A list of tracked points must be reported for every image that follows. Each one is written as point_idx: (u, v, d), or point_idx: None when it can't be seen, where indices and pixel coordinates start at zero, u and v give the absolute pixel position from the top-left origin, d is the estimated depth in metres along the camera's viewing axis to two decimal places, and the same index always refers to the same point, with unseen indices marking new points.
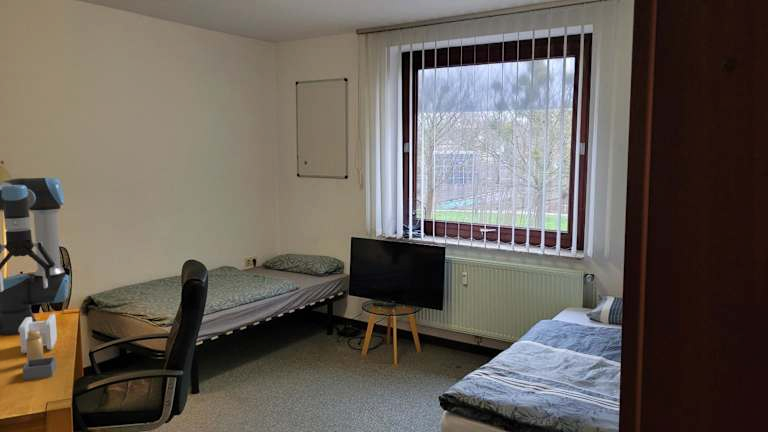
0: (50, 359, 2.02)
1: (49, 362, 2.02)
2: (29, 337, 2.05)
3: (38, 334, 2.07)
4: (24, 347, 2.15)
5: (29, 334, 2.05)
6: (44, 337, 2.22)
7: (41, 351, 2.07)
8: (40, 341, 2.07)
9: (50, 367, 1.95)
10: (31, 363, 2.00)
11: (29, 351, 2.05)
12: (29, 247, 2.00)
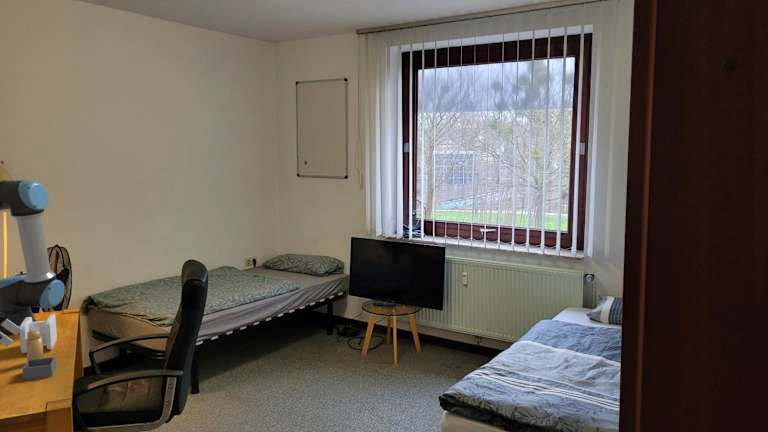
0: (50, 359, 2.02)
1: (49, 362, 2.02)
2: (29, 337, 2.05)
3: (38, 334, 2.07)
4: (24, 347, 2.15)
5: (29, 334, 2.05)
6: (44, 337, 2.22)
7: (41, 351, 2.07)
8: (40, 341, 2.07)
9: (50, 367, 1.95)
10: (31, 363, 2.00)
11: (29, 351, 2.05)
12: None
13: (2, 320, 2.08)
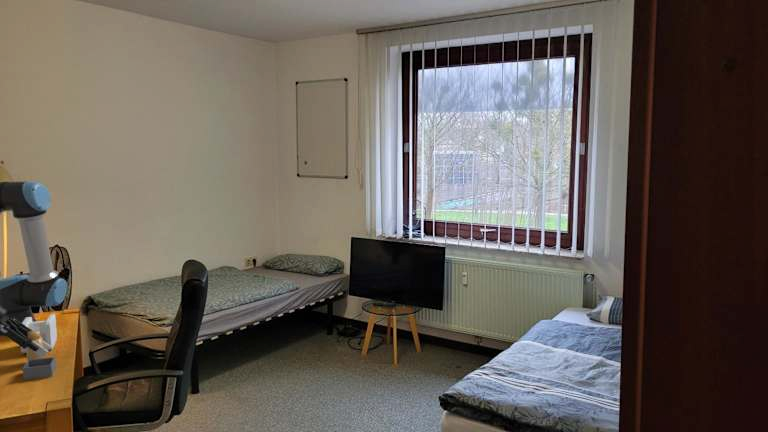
0: (50, 359, 2.02)
1: (49, 362, 2.02)
2: (29, 337, 2.05)
3: (38, 334, 2.07)
4: None
5: (29, 334, 2.05)
6: (44, 337, 2.22)
7: None
8: (40, 341, 2.07)
9: (50, 367, 1.95)
10: (31, 363, 2.00)
11: (29, 351, 2.05)
12: None
13: None
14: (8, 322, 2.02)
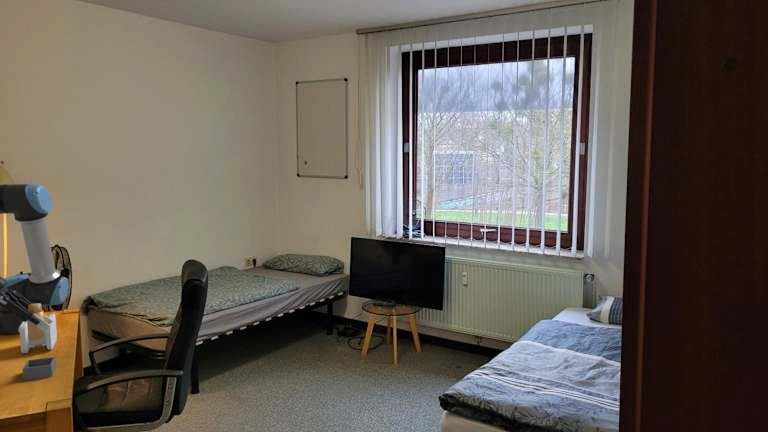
0: (50, 359, 2.02)
1: (49, 362, 2.02)
2: (30, 310, 1.93)
3: (39, 307, 1.95)
4: (24, 347, 2.15)
5: (30, 307, 1.93)
6: (44, 337, 2.22)
7: None
8: (41, 314, 1.95)
9: (50, 367, 1.95)
10: (31, 363, 2.00)
11: (30, 325, 1.93)
12: None
13: None
14: (8, 294, 1.90)
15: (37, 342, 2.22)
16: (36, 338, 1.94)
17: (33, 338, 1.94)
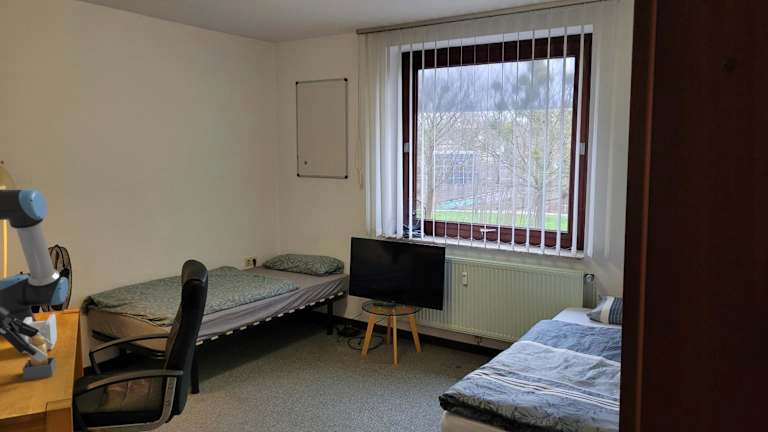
0: (50, 359, 2.02)
1: (49, 362, 2.02)
2: (33, 343, 1.95)
3: (42, 339, 1.96)
4: None
5: (33, 339, 1.95)
6: None
7: None
8: (44, 347, 1.96)
9: (50, 367, 1.95)
10: None
11: None
12: None
13: (33, 334, 2.02)
14: (10, 324, 1.91)
15: None
16: None
17: None
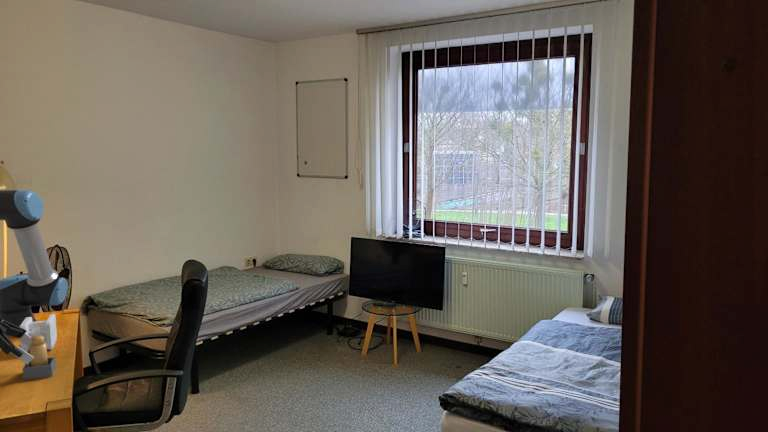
0: (50, 359, 2.02)
1: (49, 362, 2.02)
2: (33, 343, 1.95)
3: (42, 339, 1.96)
4: (24, 347, 2.15)
5: (33, 339, 1.94)
6: (44, 337, 2.22)
7: (45, 357, 1.97)
8: (44, 347, 1.96)
9: (50, 367, 1.95)
10: None
11: None
12: None
13: (20, 335, 2.00)
14: None
15: None
16: None
17: None
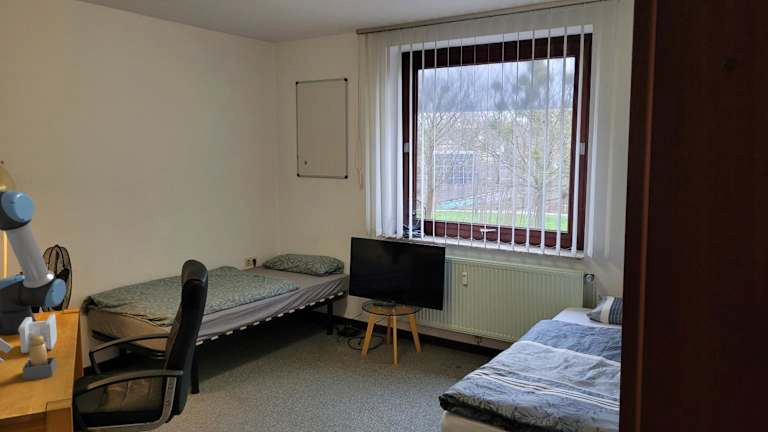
0: (50, 359, 2.02)
1: (49, 362, 2.02)
2: (32, 343, 1.95)
3: (42, 339, 1.96)
4: (24, 347, 2.15)
5: (32, 339, 1.94)
6: (44, 337, 2.22)
7: (45, 357, 1.97)
8: (44, 347, 1.96)
9: (50, 367, 1.95)
10: None
11: (33, 357, 1.94)
12: None
13: None
14: None
15: None
16: None
17: None
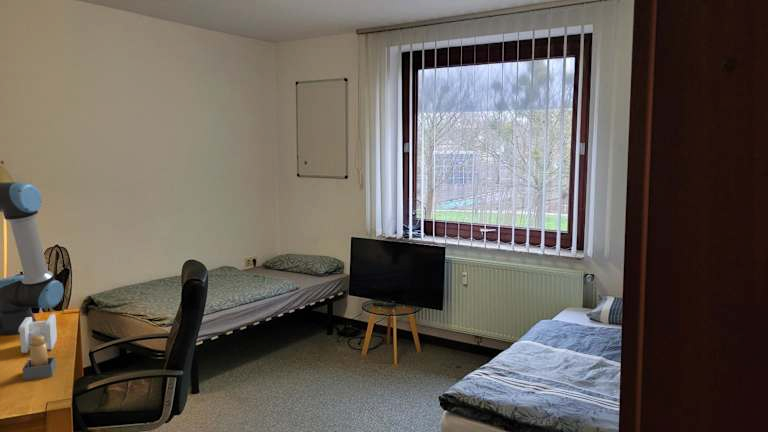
0: (50, 359, 2.02)
1: (49, 362, 2.02)
2: (33, 343, 1.94)
3: (43, 339, 1.96)
4: (24, 347, 2.15)
5: (33, 339, 1.94)
6: (44, 337, 2.22)
7: (46, 357, 1.97)
8: (45, 347, 1.96)
9: (50, 367, 1.95)
10: None
11: (33, 357, 1.94)
12: None
13: None
14: None
15: None
16: None
17: None
